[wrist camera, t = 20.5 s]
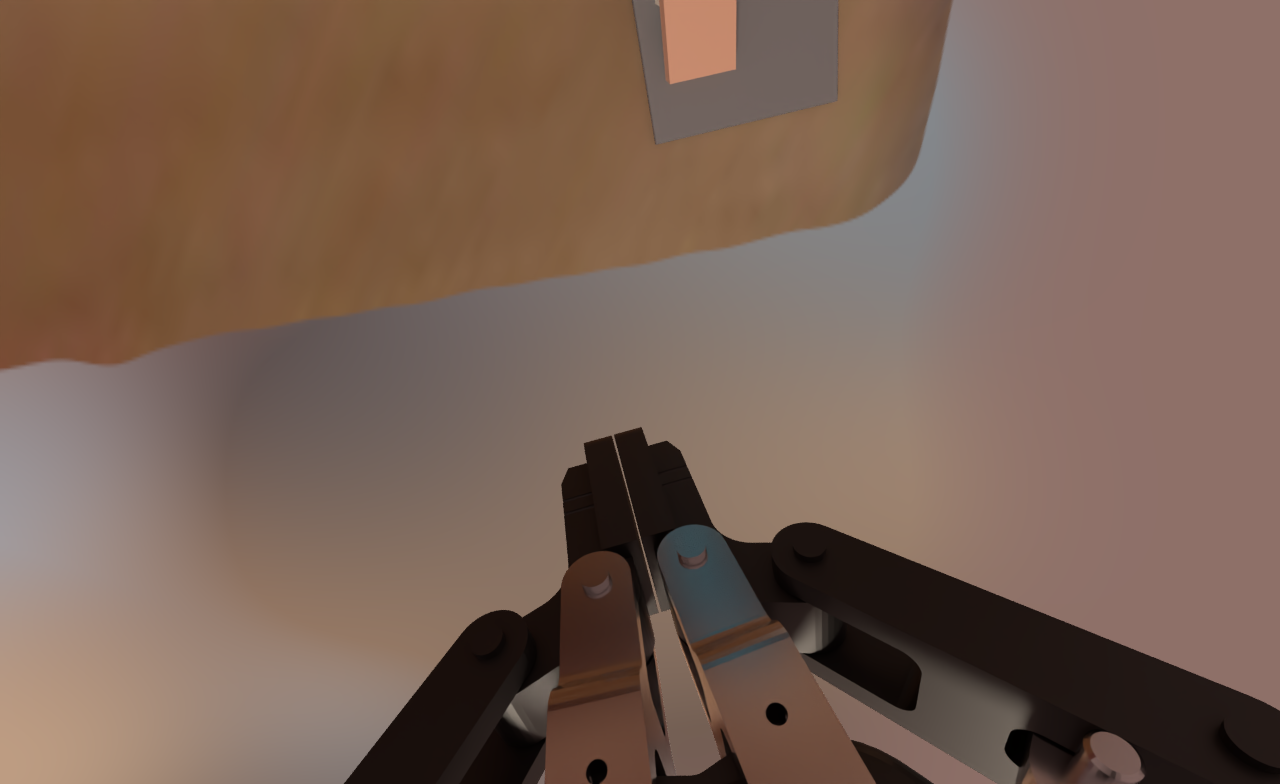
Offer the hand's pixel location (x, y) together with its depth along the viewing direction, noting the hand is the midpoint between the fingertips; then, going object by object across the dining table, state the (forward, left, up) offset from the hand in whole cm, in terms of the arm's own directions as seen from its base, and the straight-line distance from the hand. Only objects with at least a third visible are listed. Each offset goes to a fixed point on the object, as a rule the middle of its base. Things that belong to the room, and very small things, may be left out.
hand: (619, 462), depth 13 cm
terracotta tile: (+8, +13, -32) cm, 35 cm away
